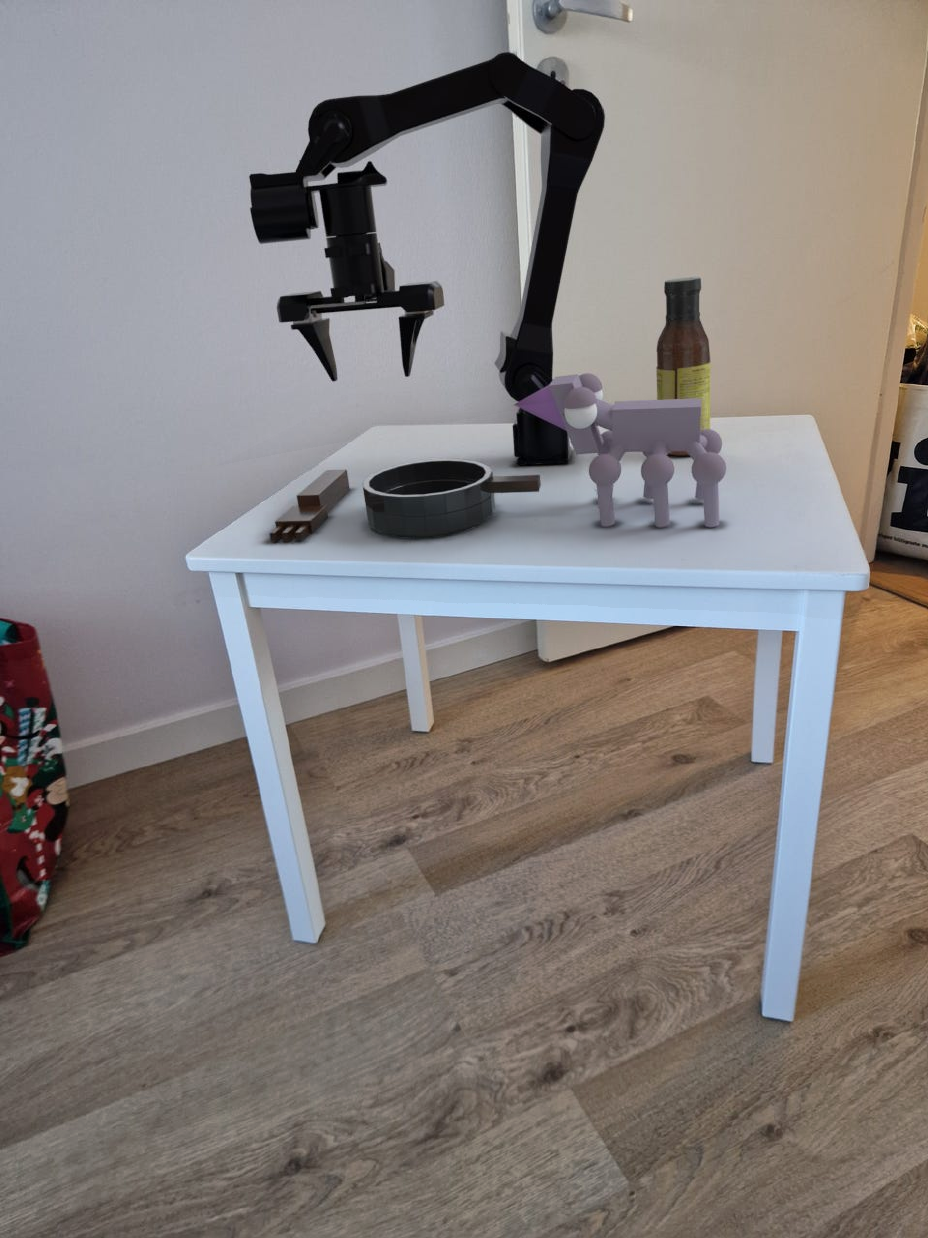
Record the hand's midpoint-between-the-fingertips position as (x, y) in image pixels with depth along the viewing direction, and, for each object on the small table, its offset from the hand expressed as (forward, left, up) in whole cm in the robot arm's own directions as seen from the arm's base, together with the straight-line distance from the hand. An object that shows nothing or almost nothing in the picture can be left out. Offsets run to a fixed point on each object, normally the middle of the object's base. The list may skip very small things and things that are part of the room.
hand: (370, 378), depth 95 cm
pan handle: (-19, +17, -9) cm, 27 cm away
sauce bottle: (-37, -6, -12) cm, 39 cm away
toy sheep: (-29, +17, -12) cm, 36 cm away
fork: (+4, +15, -12) cm, 19 cm away
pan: (-10, +17, -12) cm, 23 cm away
